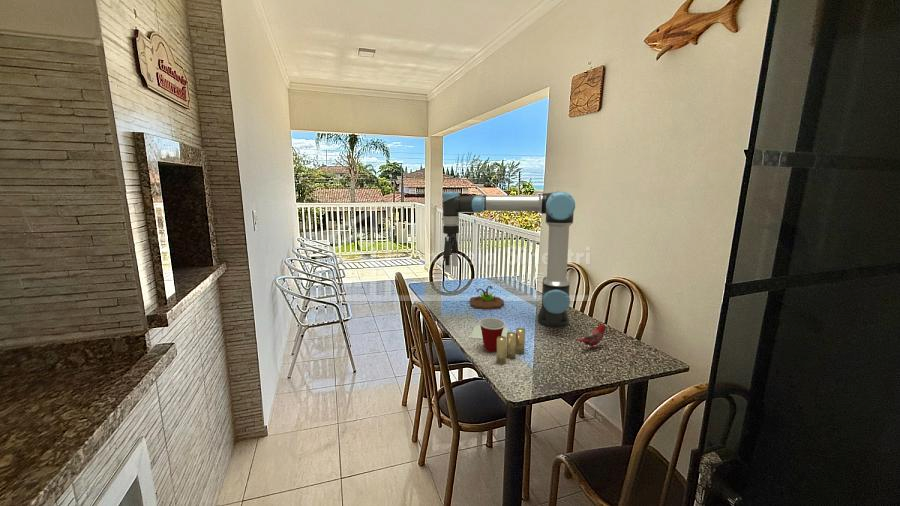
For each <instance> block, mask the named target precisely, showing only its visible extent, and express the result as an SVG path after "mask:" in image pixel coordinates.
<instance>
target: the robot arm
mask: <svg viewBox="0 0 900 506" xmlns="http://www.w3.org/2000/svg"><path fill="white" fill-rule="evenodd" d="M441 202H442V218H441V220H442V223H443V224H442V225H443V226H442V233H443V234H446V235H447V236H445V237H444V247H443V256H442V259H444V272H445V273H451V272H452V267H458V254H459V253H460V251H459V247H458V235H457V234H459V233H460V226H459V224H460V216H459V215H460V213H475V214H477V213H479V214H480V213H484V212H485V211H486V212H487V211H488V212H539V214H541V215H542V214H544V215H545V224H547V226H548V241H547V243H548V244H547V265H546V266H547V267H546V268H547V270H546V276H544V277H543V278H542V282H541V283H542V286H541V287H542V289H541V290H542V293H541V307H540V308H539V312H538V314H537V323H538V324H540V325H542V326H545V327H551V328H565V327H568V325H569V323H570V318H569V315H568V311H567V310H568V309H569V307H570V304H571V298H570V287H571V286H570V285H571V284H570V281H568V279H567V276H568V274H567V273H568V257H569V256H568V255H569V238H570V237H569V235H570V226H572V224H573V223H574V215H575V213H574V212H575V209H576V202H575V199H574V197H573V196H572V195H571V194H570V193H569V192H566V191H563V190H561V191H560V190H559V191H558V190H557V191H554V192H553V191H552V192H547V193H545V192H543V193H540V194H539V195H537V194H536V195H533V194H532V195H527V194H526V195H524V194H523V195H520V194H519V195H518V194H517V195H513V194H512V195H505V194H504V195H499V194H498V195H480V194H479V195H478V194H477V195H476V194H475V195H465V196H461V195H459V192H458V191H447V192H446V191H445V192H443V194H442V201H441Z"/></svg>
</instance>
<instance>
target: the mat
mask: <svg viewBox="0 0 900 506" xmlns="http://www.w3.org/2000/svg"><path fill="white" fill-rule="evenodd" d="M509 330H510V329H509V327H508V326H505V327H504V328H503V331H502V335H501V336H504V337H506V339H507V333H508V332H509ZM469 339H470V340H471V339H474V340H481V341H483V337H482V330H481V326H480V324H475V325H474V328H473V329H472V332H471V334H470V336H469Z"/></svg>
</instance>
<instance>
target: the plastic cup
mask: <svg viewBox="0 0 900 506" xmlns="http://www.w3.org/2000/svg"><path fill="white" fill-rule="evenodd" d="M478 325H480V326H481V330H482V337H483V340H482V342H483V348H484V350H485V351H486V352H489V353H494V352H496V353H497V337H498V336H501V335H502V331H503V328H504V327H506V322H505V321H504V320H502V319H500V318H497V317H484V318H481V319H480V320H479V322H478Z"/></svg>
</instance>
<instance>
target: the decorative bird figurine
mask: <svg viewBox="0 0 900 506" xmlns="http://www.w3.org/2000/svg"><path fill="white" fill-rule="evenodd" d="M606 329H607V327H606V325H605V324H604V323H600V324H599V325H598V326H597V327H596V328H595V329H594V330H592V331H591V332H590V333H588V334H586V335H585V336H584V338H577V339H575V341H577V342H582V343H583V344H585V345H587V346H590V350H592V349H596V348H598V344H599V343H601V341H602V339H603V337H604V335H605V331H606Z"/></svg>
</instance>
